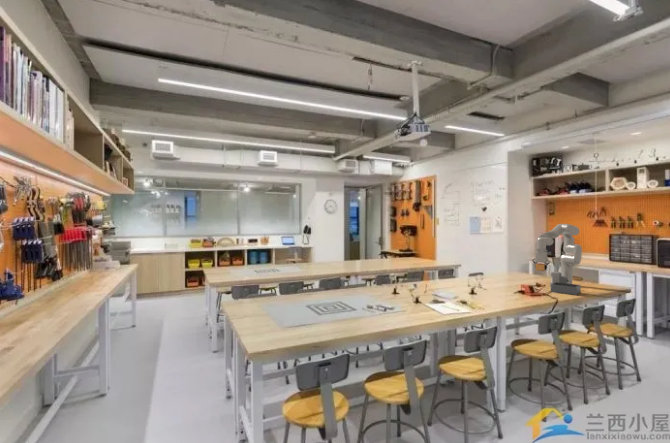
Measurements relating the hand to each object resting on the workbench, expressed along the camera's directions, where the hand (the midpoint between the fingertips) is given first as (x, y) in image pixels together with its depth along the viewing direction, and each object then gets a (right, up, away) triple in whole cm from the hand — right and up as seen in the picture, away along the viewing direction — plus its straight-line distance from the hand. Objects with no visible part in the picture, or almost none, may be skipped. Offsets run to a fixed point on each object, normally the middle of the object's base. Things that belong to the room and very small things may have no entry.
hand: (541, 268), depth 335 cm
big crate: (+13, -19, -16) cm, 28 cm away
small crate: (0, -1, 0) cm, 1 cm away
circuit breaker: (+21, -19, +5) cm, 29 cm away
